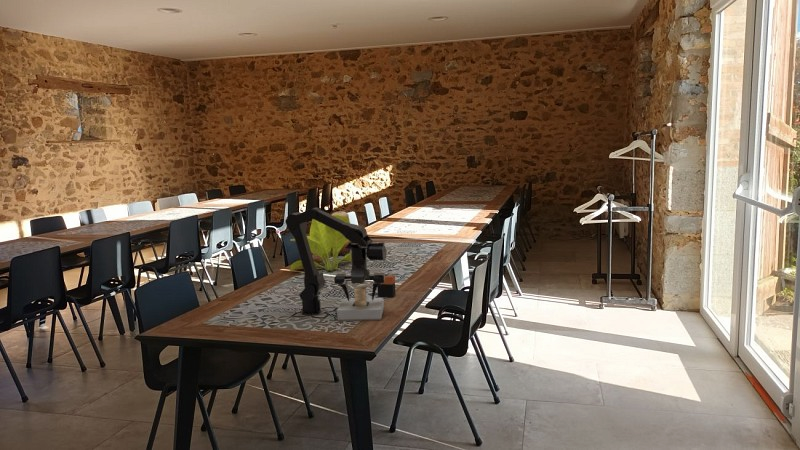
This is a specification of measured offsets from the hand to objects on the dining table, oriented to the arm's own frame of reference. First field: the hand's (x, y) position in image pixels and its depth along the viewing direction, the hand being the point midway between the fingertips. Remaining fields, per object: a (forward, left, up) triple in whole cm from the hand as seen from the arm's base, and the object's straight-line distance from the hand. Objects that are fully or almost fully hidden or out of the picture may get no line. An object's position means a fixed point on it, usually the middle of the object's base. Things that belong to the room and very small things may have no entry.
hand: (360, 300), depth 236 cm
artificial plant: (-26, +84, -6) cm, 88 cm away
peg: (0, 0, -5) cm, 5 cm away
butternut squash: (-24, +120, -6) cm, 122 cm away
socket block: (0, 0, -6) cm, 6 cm away
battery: (+8, +26, -6) cm, 28 cm away
